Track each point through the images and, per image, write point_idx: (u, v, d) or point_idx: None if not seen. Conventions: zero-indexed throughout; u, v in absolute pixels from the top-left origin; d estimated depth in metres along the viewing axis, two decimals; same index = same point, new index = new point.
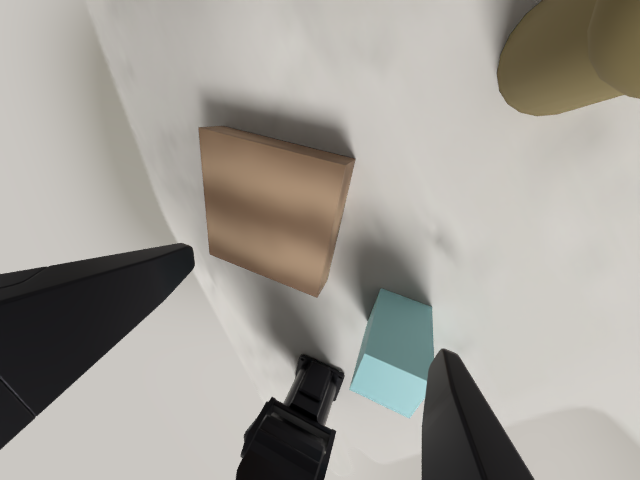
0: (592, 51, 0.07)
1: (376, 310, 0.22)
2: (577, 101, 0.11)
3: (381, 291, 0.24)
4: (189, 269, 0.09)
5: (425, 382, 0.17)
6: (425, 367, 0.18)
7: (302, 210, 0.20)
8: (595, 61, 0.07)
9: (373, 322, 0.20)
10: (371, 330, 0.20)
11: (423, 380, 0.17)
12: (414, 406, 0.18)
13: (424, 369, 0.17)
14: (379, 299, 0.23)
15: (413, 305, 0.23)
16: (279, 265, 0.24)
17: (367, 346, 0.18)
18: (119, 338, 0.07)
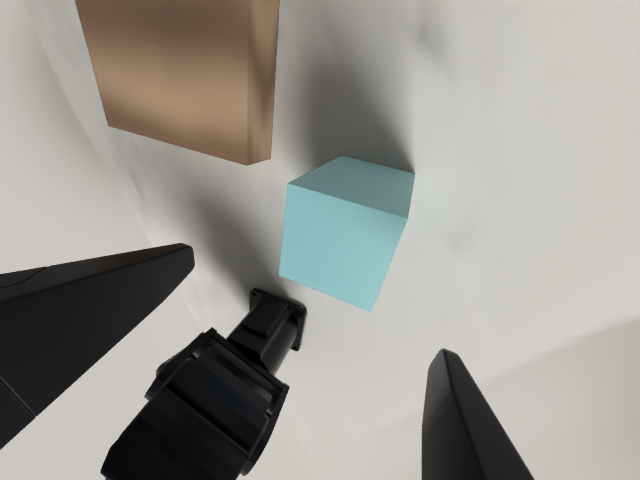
0: None
1: (327, 164, 0.14)
2: None
3: (341, 156, 0.16)
4: (189, 269, 0.09)
5: (391, 219, 0.09)
6: (393, 205, 0.10)
7: None
8: None
9: (317, 169, 0.13)
10: (310, 172, 0.12)
11: (387, 216, 0.09)
12: (377, 283, 0.11)
13: (391, 206, 0.10)
14: (336, 159, 0.15)
15: (387, 169, 0.15)
16: (190, 117, 0.16)
17: (296, 180, 0.11)
18: (119, 338, 0.07)
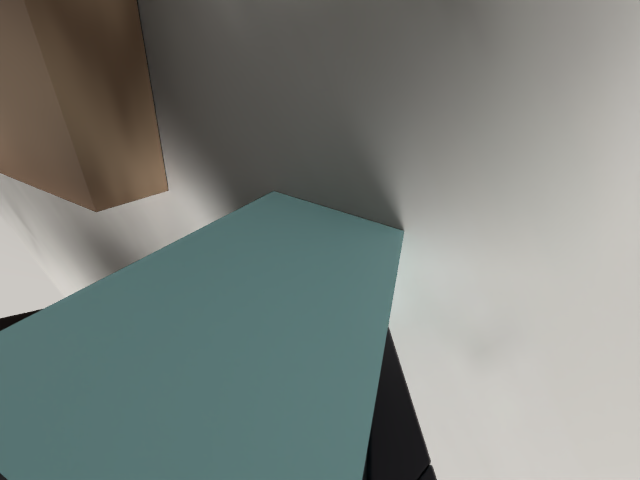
0: None
1: (214, 224, 0.07)
2: None
3: (270, 195, 0.09)
4: None
5: None
6: None
7: None
8: None
9: (165, 249, 0.05)
10: (122, 272, 0.05)
11: None
12: None
13: None
14: (250, 206, 0.08)
15: (351, 223, 0.08)
16: None
17: None
18: None
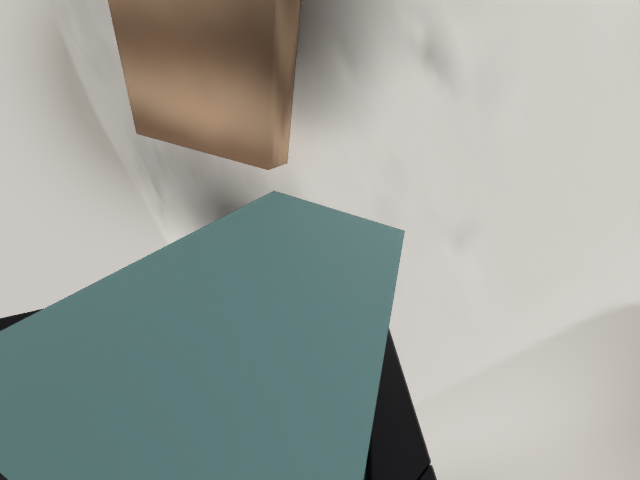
0: None
1: (215, 224, 0.07)
2: None
3: (270, 195, 0.09)
4: None
5: None
6: None
7: (232, 12, 0.14)
8: None
9: (165, 249, 0.05)
10: (122, 271, 0.05)
11: None
12: None
13: None
14: (250, 206, 0.08)
15: (351, 223, 0.08)
16: (216, 126, 0.18)
17: None
18: None
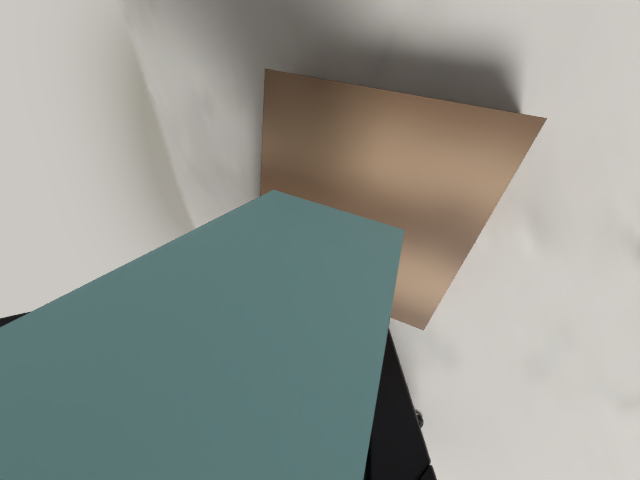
0: None
1: (214, 222, 0.07)
2: None
3: (270, 194, 0.09)
4: None
5: None
6: None
7: (430, 201, 0.13)
8: None
9: (164, 248, 0.05)
10: (120, 270, 0.04)
11: None
12: None
13: None
14: (249, 204, 0.08)
15: (351, 222, 0.08)
16: None
17: None
18: None
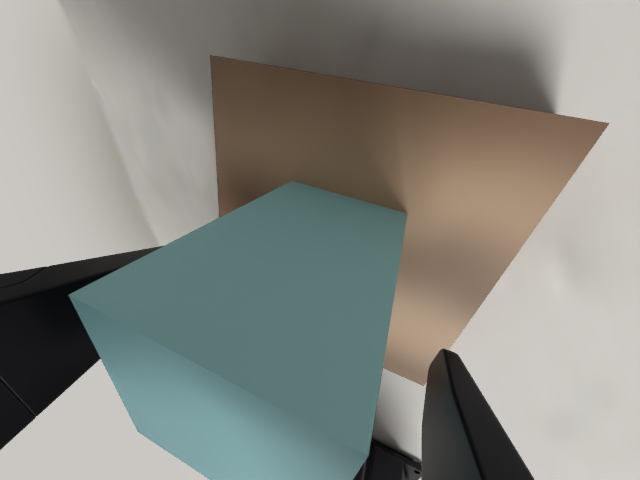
0: None
1: (249, 205, 0.08)
2: None
3: (289, 184, 0.10)
4: None
5: (320, 439, 0.03)
6: (341, 357, 0.04)
7: (433, 234, 0.09)
8: None
9: (215, 222, 0.07)
10: (188, 236, 0.06)
11: (311, 426, 0.03)
12: None
13: (333, 366, 0.04)
14: (274, 192, 0.09)
15: (361, 207, 0.09)
16: None
17: (117, 273, 0.04)
18: None
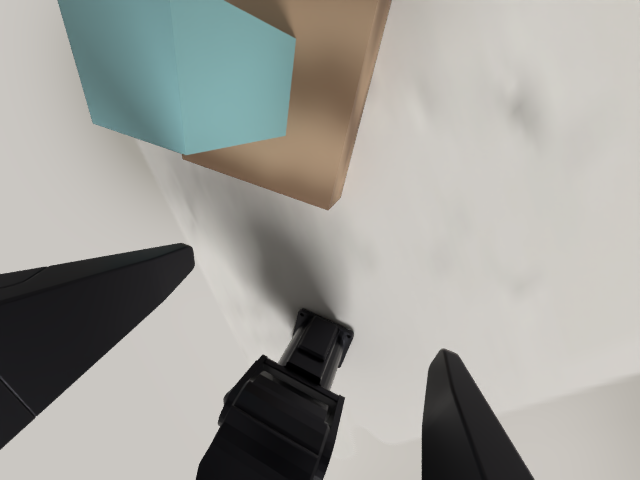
0: None
1: None
2: None
3: None
4: (189, 269, 0.09)
5: None
6: None
7: (313, 54, 0.13)
8: None
9: None
10: None
11: None
12: (176, 103, 0.08)
13: None
14: None
15: None
16: (276, 162, 0.17)
17: None
18: (120, 338, 0.07)
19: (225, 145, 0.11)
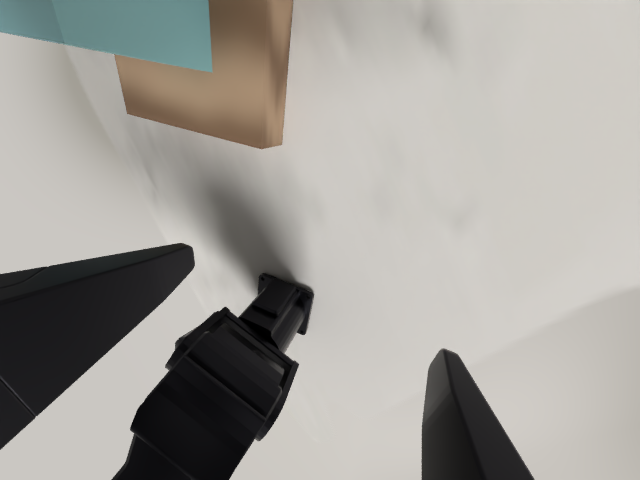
0: None
1: None
2: None
3: None
4: (189, 269, 0.09)
5: None
6: None
7: None
8: None
9: None
10: None
11: None
12: None
13: None
14: None
15: None
16: (208, 103, 0.17)
17: None
18: (119, 338, 0.07)
19: (121, 52, 0.11)
